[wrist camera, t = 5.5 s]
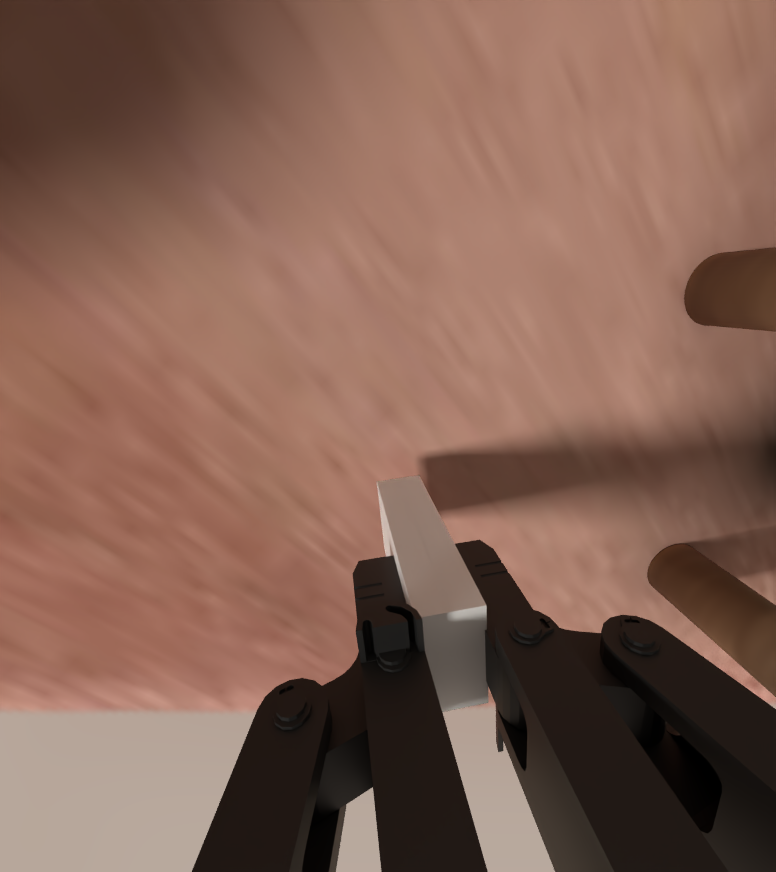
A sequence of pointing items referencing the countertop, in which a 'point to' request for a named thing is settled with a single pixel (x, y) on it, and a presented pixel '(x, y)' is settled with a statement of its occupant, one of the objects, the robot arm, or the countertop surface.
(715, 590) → the post outer
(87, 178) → the countertop surface
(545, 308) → the countertop surface
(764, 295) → the post inner
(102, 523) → the countertop surface
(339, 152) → the countertop surface
